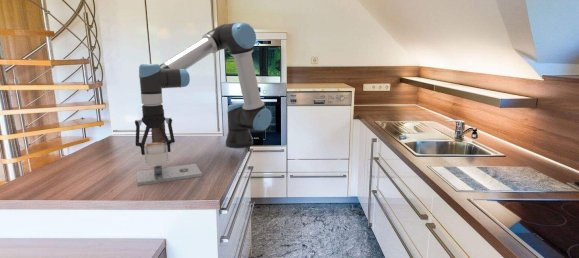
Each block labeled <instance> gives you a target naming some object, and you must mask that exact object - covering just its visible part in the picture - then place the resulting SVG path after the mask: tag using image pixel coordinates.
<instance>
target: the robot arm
mask: <svg viewBox="0 0 579 258" xmlns="http://www.w3.org/2000/svg"><path fill="white" fill-rule="evenodd" d="M256 42H257V34H256V31H255V30H254V27H252V26H251V25H250V24H249V23H247V22H240V21H239V22H233V23H224V24H220V25H218V26H216V27H213V29H211V30H209V31H208V32H207V33H205V34H203V35H202V37H201V39H200V40H198V41H196V42H195V43H193V44H192V45H190V46H188V47H187V48H185V49H183V50H181V52H178V53H177V54H175V55H174V56H173V57H170V58H169V59H168V60H166V61H164V62H162V63H161V64H158V63H142V64H139V66H138V77H139V78H138V79H139V86H140V99H141V101H140V102H141V104H142V106H141V109H142V110H141V111H142V118H141V119H136V120H134V124H135V146H136V147H140V151H141V152H140V154H141V155H142V156H144V163H145V164H148V163H147V150H146V142H147V138H148V135H149V133H150V131H151V129H152V128H159V129H160V131H161V133H162V135H163V137H164V139H165V141H166V142H165V151H166V156H167V162H168V161H169V153H171V150H172V149H171V145H172V143H173V144H174V143H175V142H176V140H175V136H174V131H173V126H172V124H173V119H172V118H171V117H165V113H164V114H163V109H164V105H163V90H162V89H174V88H175V89H176V88H177V89H178V88H179V89H181V88H185V87H188V86H189V84H190V80H191V78H190V73H189V72H188V69H189V68H190V67H192V66H193V65H195V64H196V63H198V62H199V61H201V60H202V59H204V58H206V57H207V56H209V55H210V54H216V53H217V52H218V51H222V50H228V51H229V55H230V56H232V57H233V60H234V64H235V69H236V73H237V78H238V81H239V82H238V83H239V86H240V89H241V95H242V99H243V102H242V103H232V104H229V105H228V106H227V111H226V112H227V128H228V131H227V134H226V139H225V147H229V148H231V149H232V148H235V149H242V148H249V147H251V146H253V145H254V139H253V137H252V133H251V131H250V130H254V131H265V130H266V129H268V128H269V127H270V124H271V123H272V117H273V116H272V111H271V110H270V109H268V108H266V105H265V102H264V100H261V94H260V89H259V84H258V80H257V75H256V70H255V69H256V68H255V65H254V60H253V57H252V55H253V54H252V53H253V52H254V50H255V49H254V47H255V45H256ZM164 121H165V124H167V127H168V134H169V137H170V139H169V137H168V136H167V133H166V131H165V132H164V130H163V128H162V126H161V125H162V124H163V122H164ZM142 123H143V124H144V125H145V129H144V133H143V135H142V138H141V142H140V134H141V133H140V131H141V129H140V127H141V125H142ZM165 133H166V134H165Z"/></svg>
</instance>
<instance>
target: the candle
mask: <svg viewBox="0 0 579 258" xmlns="http://www.w3.org/2000/svg"><path fill="white" fill-rule="evenodd" d="M163 114H164V115H165V109H164V108H163ZM161 126H162V128H163V130H164V132H165V134H166V135H167V133H166V121H164V122H163V124H162V125H161ZM150 131H151V143H165V144H166V141H165V139H164V137H163V135H162V133H161V131H160V129H159V128H152V129H150Z"/></svg>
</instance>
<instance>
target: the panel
mask: <svg viewBox="0 0 579 258" xmlns="http://www.w3.org/2000/svg"><path fill="white" fill-rule="evenodd" d="M198 177H199V178H200V177H203V173H202V172H201V169H200V168H199V167H198V165H197V164H196V163H191V164H183V165H182V164H181V165H175V166H166V167H162V165H155V166H153V168H152V169H144V170H136V185H137V187H139V186H145V185H149V184H150V185H151V184H157V183H164V182H165V183H166V182H171V181H178V180H184V179H192V178H198Z"/></svg>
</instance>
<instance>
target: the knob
mask: <svg viewBox="0 0 579 258" xmlns="http://www.w3.org/2000/svg"><path fill="white" fill-rule="evenodd" d="M165 144H166V142H165V143H152V142H151V143H146V144H145V146H146V150H147V163H146V164H147V166H151V165H161V164H167V163H168V161H167V156H166V151H165Z"/></svg>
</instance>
